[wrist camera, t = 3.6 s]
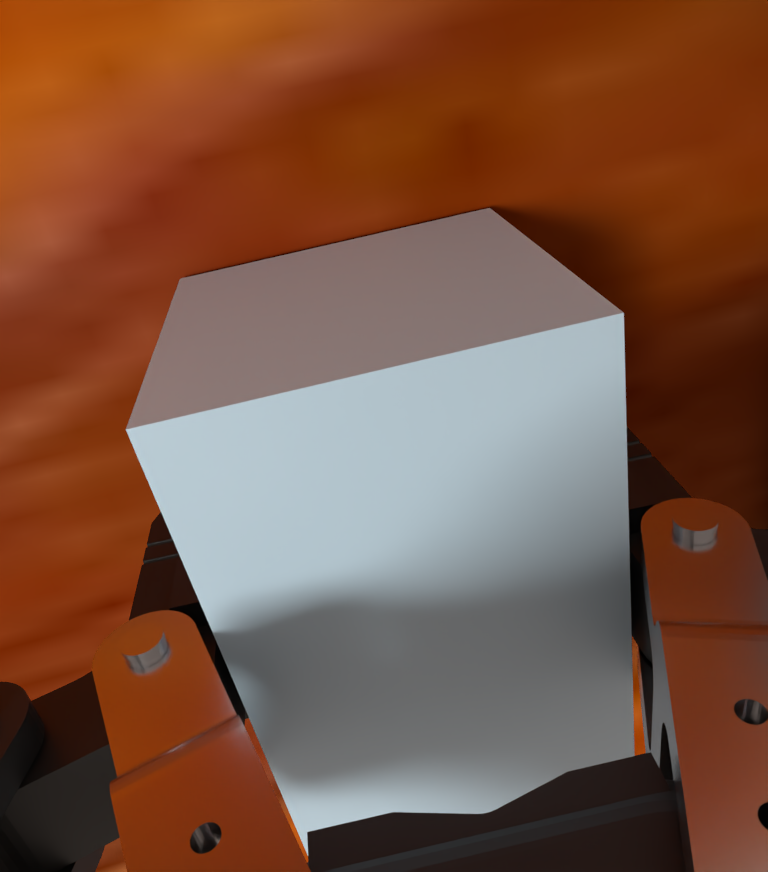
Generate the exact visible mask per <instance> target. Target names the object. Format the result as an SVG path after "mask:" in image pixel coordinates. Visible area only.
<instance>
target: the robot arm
mask: <svg viewBox="0 0 768 872" xmlns="http://www.w3.org/2000/svg"><path fill="white" fill-rule="evenodd" d="M627 466H628V508H629V550H630V592H631V634H632V636H633V638H634V639H635V641H636V643H637V644H638V676H639V687H640V697H641V707H642V717H643V727H644V738H645V748H646V753H645V754H641V755H637V756H632V757H628V758H624V759H619V760H615V761H611V762H606V763H602V764H598V765H594V766H589V767H585V768H581V769H576V770H572V771H568V772H566V773H564V774H562V775H560V776H558V777H556V778H555V779H553V780H551V781H549V782H547V783H545V784H543V785H541V786H539V787H537V788H536V789H534V790H532V791H530V792H528V793H526V794H524V795H522V796H520V797H519V798H517V799H515V800H513V801H511V802H509V803H507V804H505V805H503V806H502V807H500V808H498V809H496V810H493V811H491V812H488V813H483V814H459V813H411V812H391V813H387V814H383V815H378V816H374V817H370V818H365V819H361V820H357V821H352V822H348V823H344V824H340V825H335V826H331V827H327V828H322V829H318V830H314V831H309V832H307V839H308V859H309V862H308V863H307V862H306V860H305V858H304V856H303V853H302V851H301V849H300V847H299V845H298V843H297V840H296V838H295V836H294V834H293V832H292V829H291V827H290V825H289V823H288V821H287V818H286V816H285V814H284V812H283V810H282V808H281V805H280V803H279V801H278V799H277V797H276V794H275V792H274V790H273V788H272V786H271V784H270V781H269V779H268V777H267V775H266V773H265V770H264V768H263V766H262V764H261V762H260V760H259V757H258V755H257V753H256V751H255V749H254V746H253V744H252V742H251V740H250V738H249V736H248V733H247V731H246V729H245V727H244V726H245V719H247V718H249V717H248V714H247V712H246V710H245V707H244V705H243V703H242V700H241V698H240V696H239V693H238V691H237V689H236V686H235V684H234V682H233V679H232V677H231V674H230V672H229V670H228V667H227V665H226V663H225V660H224V658H223V656H222V653H221V651H220V649H219V646H218V644H217V642H216V639H215V637H214V635H213V632H212V630H211V628H210V625H209V623H208V621H207V618H206V616H205V614H204V611H203V609H202V607H201V604H200V602H199V600H198V597H197V595H196V593H195V590H194V588H193V586H192V583H191V581H190V579H189V576H188V574H187V572H186V569H185V567H184V565H183V562H182V560H181V558H180V555H179V553H178V550H177V548H176V546H175V543H174V541H173V539H172V536H171V534H170V532H169V529H168V527H167V525H166V522H165V520H164V518H163V515H162V513H161V512H160V514H159V515H158V516H157V517H156V519H155V520H154V521H153V522H152V525H151V529H150V533H149V538H148V542H147V545H148V548H146V550H145V555H144V559H143V562H144V565H142V567H141V571H140V576H139V580H138V584H137V588H136V593H135V597H134V601H133V605H132V610H131V614H130V618H129V621H127V622H126V623H124V624H123V625H121V626H119V627H118V628H117V629H116V630H114V631H113V632H112V633H111V634H110V635H109V636H108V637H107V638H106V639H105V640H104V641H103V642H102V643H101V645H100V646H99V648H98V649H97V651H96V653H95V655H94V658H93V662H92V671H91V672H90V673H88V674H86V675H85V676H83V677H81V678H79V679H78V680H76V681H74V682H72V683H69V684H67V685H65V686H63V687H61V688H59V689H56V690H54V691H52V692H50V693H48V694H46V695H43V696H41V697H39V698H37V699H35V700H33V701H31V700H30V699H29V697H28V695H27V694H26V692H25V690H24V689H23V688H21V687H20V686H18V685H16V684H14V683H9V682H0V872H95V870H96V868H97V865H98V863H99V861H100V858H101V856H102V853H103V850H104V846H105V845H106V844H108V843H110V842H112V841H114V840H116V839H117V838H119V837H120V841H121V845H122V850H123V854H124V859H125V863H126V868H127V872H768V530H764V529H753V528H750V526H749V524H748V522H747V521H746V520H745V519H744V517H742V516H741V515H740V514H739V513H738V512H736V511H735V510H733V509H732V508H730V507H728V506H725V505H723V504H720V503H718V502H715V501H710V500H706V499H699V498H692V497H691V496H690V495H689V494H688V493H687V492H686V491H685V490H684V489H683V487H682V486H681V485H680V484H679V483H678V482H677V481H676V480H675V479H674V478H673V477H672V475H671V474H670V473H669V472H668V471H667V470H666V469H665V468H664V467H663V466H662V465H661V463H660V462H659V461H658V460H657V459H656V458H655V457H652V456H651V453H650V451H649V450H648V449H647V448H646V447H645V446H644V445H643V444H642V443H639V439H638V438H637V437H636V436H635V435H634V434H633V433H632V432H631V431H630V430H629V428H628V427H627Z"/></svg>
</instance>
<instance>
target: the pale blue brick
mask: <svg viewBox="0 0 768 872" xmlns="http://www.w3.org/2000/svg"><path fill="white" fill-rule="evenodd" d="M126 431H127V433H128V436H129V438H130V441H131V443H132V445H133V448H134V450H135V452H136V455H137V457H138V459H139V462H140V464H141V466H142V469H143V471H144V473H145V476H146V478H147V480H148V483H149V485H150V487H151V490H152V492H153V494H154V497H155V499H156V501H157V504H158V506H159V508H160V511H161V513H162V515H163V518H164V520H165V522H166V525H167V527H168V529H169V532H170V534H171V536H172V539H173V541H174V543H175V546H176V548H177V550H178V553H179V555H180V558H181V560H182V562H183V565H184V567H185V569H186V572H187V574H188V576H189V579H190V581H191V583H192V586H193V588H194V590H195V593H196V595H197V597H198V600H199V602H200V604H201V607H202V609H203V611H204V614H205V616H206V618H207V621H208V623H209V625H210V628H211V630H212V632H213V635H214V637H215V639H216V642H217V644H218V646H219V649H220V651H221V653H222V656H223V658H224V660H225V663H226V665H227V667H228V670H229V672H230V674H231V677H232V679H233V682H234V684H235V686H236V689H237V691H238V693H239V696H240V698H241V700H242V703H243V705H244V707H245V710H246V712H247V714H248V717H249V719H250V721H251V724H252V726H253V728H254V731H255V733H256V735H257V738H258V740H259V742H260V745H261V747H262V749H263V752H264V754H265V756H266V759H267V761H268V763H269V766H270V768H271V770H272V773H273V775H274V777H275V780H276V782H277V784H278V787H279V789H280V791H281V794H282V796H283V799H284V801H285V803H286V806H287V808H288V810H289V813H290V815H291V817H292V820H293V822H294V824H295V827H296V829H297V831H298V834H299V836H300V838H301V841H302V843H303V845H304V848H305V850H306V852H307V855H308V839H307V832H309V831H314V830H318V829H322V828H327V827H331V826H335V825H340V824H344V823H348V822H352V821H357V820H361V819H365V818H370V817H374V816H378V815H383V814H387V813H391V812H411V813H459V814H483V813H488V812H491V811H493V810H496V809H498V808H500V807H502V806H503V805H505V804H507V803H509V802H511V801H513V800H515V799H517V798H519V797H520V796H522V795H524V794H526V793H528V792H530V791H532V790H534V789H536V788H537V787H539V786H541V785H543V784H545V783H547V782H549V781H551V780H553V779H555V778H556V777H558V776H560V775H562V774H564V773H566V772H568V771H572V770H576V769H581V768H585V767H589V766H594V765H598V764H602V763H606V762H611V761H615V760H619V759H624V758H628V757H632V756H634V718H633V676H632V634H631V592H630V550H629V508H628V466H627V424H626V382H625V340H624V312H622V311H621V310H620V309H618V308H617V307H616V306H615V305H613V304H612V303H611V302H610V301H608V300H607V299H606V298H604V297H603V296H602V295H601V294H599V293H598V292H597V291H595V290H594V289H593V288H592V287H590V286H589V285H588V284H587V283H585V282H584V281H583V280H581V279H580V278H579V277H578V276H576V275H575V274H574V273H572V272H571V271H570V270H569V269H567V268H566V267H565V266H563V265H562V264H561V263H560V262H558V261H557V260H556V259H555V258H553V257H552V256H551V255H549V254H548V253H547V252H546V251H544V250H543V249H542V248H540V247H539V246H538V245H537V244H535V243H534V242H533V241H532V240H530V239H529V238H528V237H526V236H525V235H524V234H523V233H521V232H520V231H519V230H517V229H516V228H515V227H514V226H512V225H511V224H510V223H509V222H507V221H506V220H505V219H503V218H502V217H501V216H500V215H498V214H497V213H496V212H494V211H493V210H492V209H491V208H486V209H482V210H478V211H473V212H469V213H465V214H460V215H456V216H452V217H447V218H443V219H438V220H434V221H430V222H425V223H421V224H417V225H412V226H408V227H404V228H399V229H395V230H390V231H386V232H382V233H377V234H373V235H369V236H364V237H360V238H356V239H351V240H347V241H342V242H338V243H334V244H329V245H325V246H321V247H316V248H312V249H308V250H303V251H299V252H295V253H290V254H286V255H281V256H277V257H273V258H268V259H264V260H260V261H255V262H251V263H247V264H242V265H238V266H233V267H229V268H225V269H220V270H216V271H212V272H207V273H203V274H199V275H194V276H190V277H185V278H181V279H180V280H179V283H178V286H177V288H176V291H175V294H174V297H173V300H172V302H171V305H170V308H169V311H168V314H167V316H166V319H165V322H164V325H163V327H162V330H161V333H160V336H159V339H158V341H157V344H156V347H155V350H154V353H153V355H152V358H151V361H150V364H149V366H148V369H147V372H146V375H145V378H144V380H143V383H142V386H141V389H140V392H139V394H138V397H137V400H136V403H135V405H134V408H133V411H132V414H131V417H130V419H129V422H128V425H127V428H126Z"/></svg>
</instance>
